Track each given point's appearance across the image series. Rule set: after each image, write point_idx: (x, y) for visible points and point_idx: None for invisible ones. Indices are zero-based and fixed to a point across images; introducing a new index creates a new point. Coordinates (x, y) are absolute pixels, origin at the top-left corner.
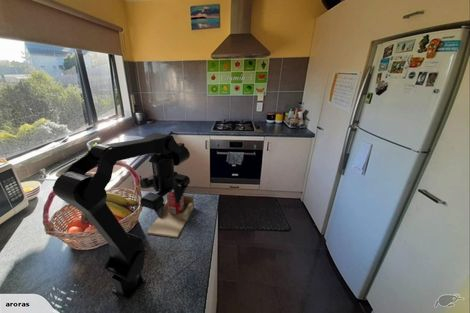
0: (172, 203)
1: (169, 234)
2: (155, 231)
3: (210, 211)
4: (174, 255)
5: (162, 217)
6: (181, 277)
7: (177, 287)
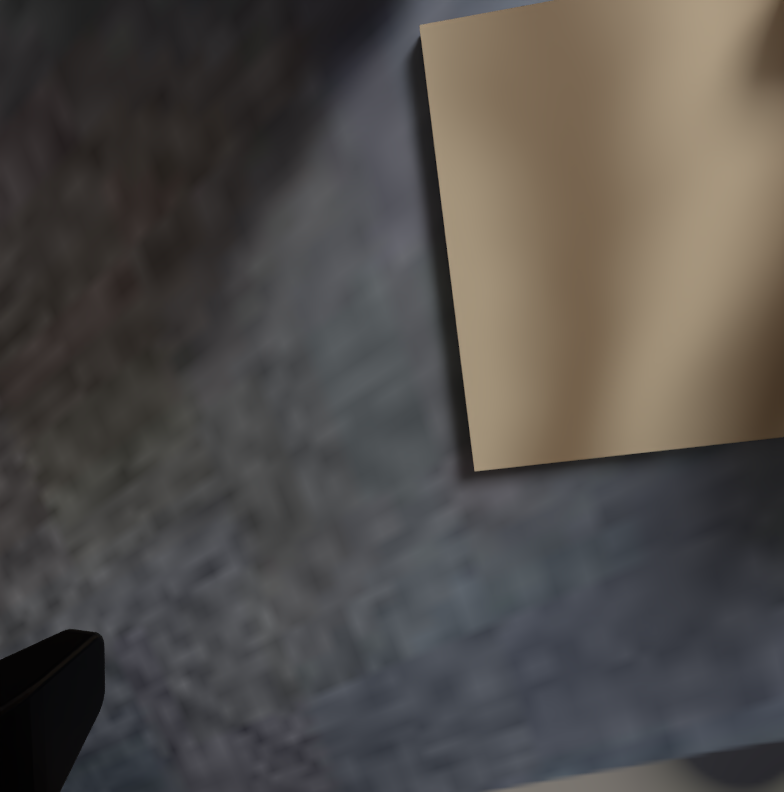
0: None
1: (471, 365)
2: (468, 143)
3: None
4: (248, 549)
5: (89, 725)
6: None
7: None
